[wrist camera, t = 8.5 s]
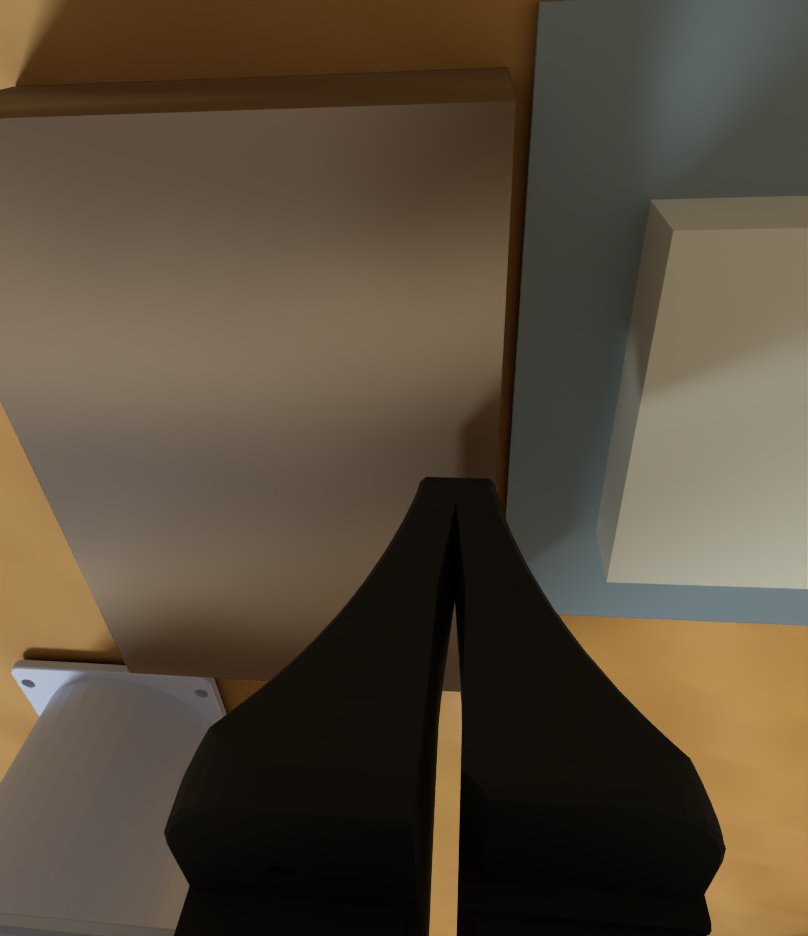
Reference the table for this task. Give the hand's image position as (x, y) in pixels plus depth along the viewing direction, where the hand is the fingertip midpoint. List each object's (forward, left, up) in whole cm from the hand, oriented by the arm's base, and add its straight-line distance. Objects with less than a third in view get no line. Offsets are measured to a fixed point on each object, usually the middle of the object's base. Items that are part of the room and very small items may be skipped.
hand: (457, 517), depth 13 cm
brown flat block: (0, +4, -5) cm, 6 cm away
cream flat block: (0, -7, -3) cm, 7 cm away
